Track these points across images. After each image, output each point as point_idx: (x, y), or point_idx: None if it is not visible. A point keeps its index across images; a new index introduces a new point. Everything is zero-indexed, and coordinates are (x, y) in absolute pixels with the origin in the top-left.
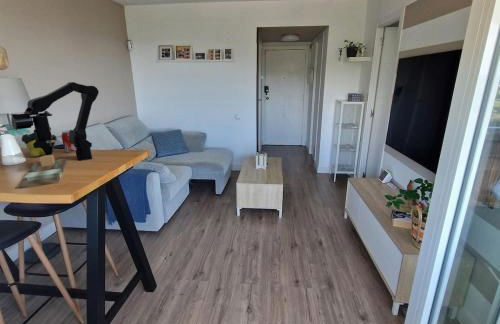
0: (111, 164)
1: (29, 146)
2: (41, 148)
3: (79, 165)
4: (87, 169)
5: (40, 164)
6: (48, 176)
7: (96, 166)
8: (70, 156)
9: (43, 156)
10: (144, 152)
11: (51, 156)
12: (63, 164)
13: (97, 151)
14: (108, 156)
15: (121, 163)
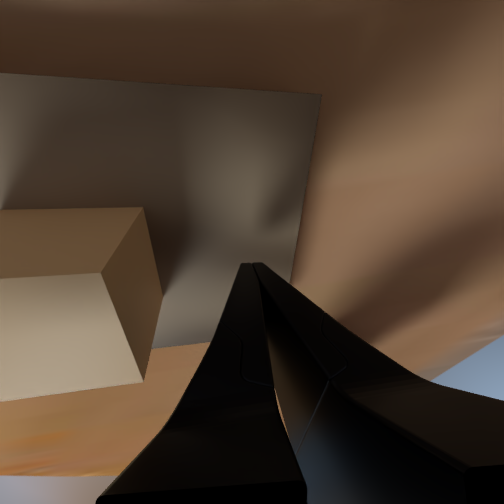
0: (119, 452)
1: None
2: (149, 445)
3: (163, 368)
4: (46, 411)
5: (137, 170)
6: None
7: (103, 424)
8: (445, 289)
9: (33, 310)
10: None
11: (7, 397)
12: None
13: (421, 372)
14: (281, 418)
15: (122, 467)
